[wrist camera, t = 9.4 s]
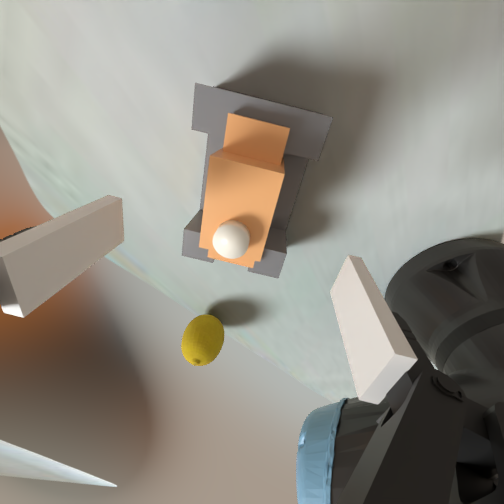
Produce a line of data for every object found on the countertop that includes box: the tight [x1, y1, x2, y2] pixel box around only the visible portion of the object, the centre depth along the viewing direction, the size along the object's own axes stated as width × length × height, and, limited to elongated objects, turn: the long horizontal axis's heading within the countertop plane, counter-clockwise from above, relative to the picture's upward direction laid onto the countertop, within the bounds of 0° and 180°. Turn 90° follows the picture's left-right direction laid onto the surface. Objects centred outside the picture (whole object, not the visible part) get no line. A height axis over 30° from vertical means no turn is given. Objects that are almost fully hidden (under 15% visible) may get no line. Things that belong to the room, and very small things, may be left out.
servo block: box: [199, 113, 290, 268], centre depth 21 cm, size 5×12×10 cm, turn 168°
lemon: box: [181, 315, 224, 366], centre depth 33 cm, size 6×6×8 cm
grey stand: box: [182, 83, 333, 278], centre depth 23 cm, size 10×15×6 cm, turn 168°
